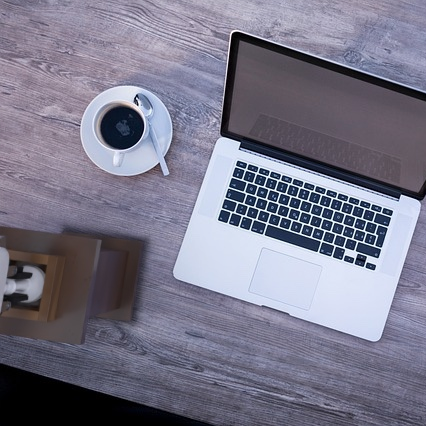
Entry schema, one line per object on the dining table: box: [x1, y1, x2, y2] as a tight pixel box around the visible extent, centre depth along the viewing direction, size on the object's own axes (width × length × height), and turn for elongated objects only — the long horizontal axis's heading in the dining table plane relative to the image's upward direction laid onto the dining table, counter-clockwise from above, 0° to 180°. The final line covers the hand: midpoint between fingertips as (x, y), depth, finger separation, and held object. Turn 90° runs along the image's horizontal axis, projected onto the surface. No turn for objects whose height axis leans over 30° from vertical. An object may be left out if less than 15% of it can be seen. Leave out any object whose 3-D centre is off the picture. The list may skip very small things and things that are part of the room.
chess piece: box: [4, 265, 45, 303], centre depth 71 cm, size 5×5×10 cm
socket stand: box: [0, 225, 102, 346], centre depth 76 cm, size 16×14×4 cm
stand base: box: [61, 230, 145, 323], centre depth 90 cm, size 14×14×24 cm
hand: (18, 284), depth 74 cm, fingers closed on chess piece
